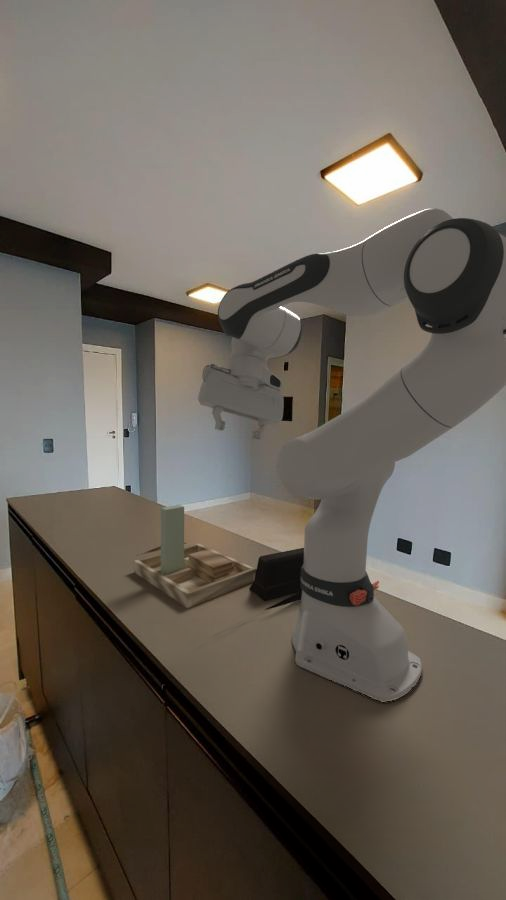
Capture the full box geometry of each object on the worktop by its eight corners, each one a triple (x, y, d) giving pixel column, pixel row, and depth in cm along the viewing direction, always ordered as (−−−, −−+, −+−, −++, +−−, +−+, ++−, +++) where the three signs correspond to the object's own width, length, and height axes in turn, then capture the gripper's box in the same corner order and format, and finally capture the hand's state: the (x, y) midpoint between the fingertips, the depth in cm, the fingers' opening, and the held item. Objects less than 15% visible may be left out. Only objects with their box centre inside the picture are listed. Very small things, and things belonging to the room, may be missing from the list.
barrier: (264, 611, 80) (266, 567, 80) (245, 594, 88) (246, 553, 87) (345, 588, 92) (347, 549, 91) (322, 575, 100) (323, 539, 99)
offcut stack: (238, 578, 93) (238, 561, 92) (215, 586, 88) (215, 569, 88) (204, 561, 103) (204, 546, 102) (182, 568, 98) (182, 552, 98)
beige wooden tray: (255, 586, 92) (256, 568, 91) (187, 614, 78) (187, 594, 77) (198, 558, 109) (198, 543, 109) (134, 577, 95) (134, 560, 95)
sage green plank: (183, 578, 92) (184, 506, 91) (166, 584, 89) (166, 509, 87) (178, 575, 94) (178, 504, 92) (160, 580, 90) (160, 507, 89)
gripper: (211, 356, 77) (201, 420, 74) (289, 385, 87) (283, 442, 84) (198, 365, 82) (189, 425, 79) (274, 391, 92) (268, 445, 89)
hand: (238, 434), depth 82 cm, fingers open, 8 cm apart
